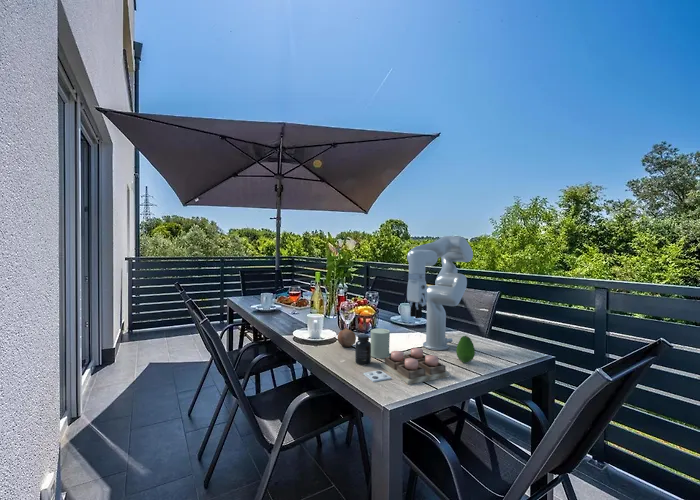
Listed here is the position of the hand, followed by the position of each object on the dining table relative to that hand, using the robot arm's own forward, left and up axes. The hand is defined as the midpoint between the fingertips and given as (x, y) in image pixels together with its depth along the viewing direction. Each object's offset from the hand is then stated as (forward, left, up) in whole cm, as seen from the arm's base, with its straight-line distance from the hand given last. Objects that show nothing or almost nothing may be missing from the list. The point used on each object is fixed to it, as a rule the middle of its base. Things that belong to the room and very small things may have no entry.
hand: (415, 316), depth 156 cm
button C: (+15, +8, -15) cm, 23 cm away
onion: (+22, -28, -19) cm, 41 cm away
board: (+10, +13, -19) cm, 25 cm away
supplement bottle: (+25, -4, -19) cm, 32 cm away
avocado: (-18, +13, -19) cm, 29 cm away
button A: (+5, +8, -15) cm, 18 cm away
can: (+13, -10, -19) cm, 25 cm away
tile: (+27, +12, -19) cm, 35 cm away
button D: (+15, +18, -15) cm, 28 cm away
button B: (+5, +18, -15) cm, 24 cm away
